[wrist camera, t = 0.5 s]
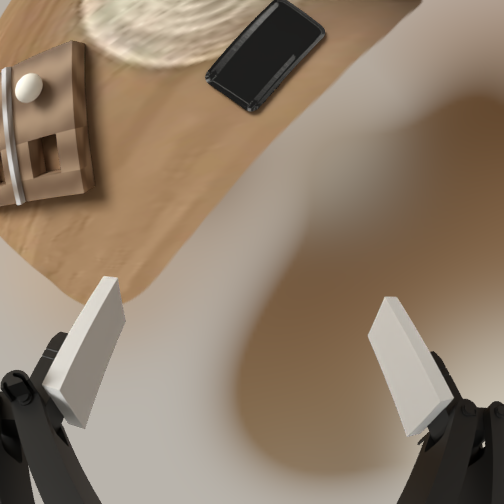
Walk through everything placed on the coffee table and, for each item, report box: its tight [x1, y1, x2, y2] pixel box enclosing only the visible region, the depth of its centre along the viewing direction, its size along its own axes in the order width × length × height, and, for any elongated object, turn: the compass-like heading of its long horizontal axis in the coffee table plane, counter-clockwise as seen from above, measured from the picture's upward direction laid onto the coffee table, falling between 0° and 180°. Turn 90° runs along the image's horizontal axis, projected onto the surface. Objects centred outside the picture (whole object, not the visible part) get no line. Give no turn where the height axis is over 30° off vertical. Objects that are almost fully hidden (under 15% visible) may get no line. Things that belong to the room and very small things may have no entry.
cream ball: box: [15, 73, 43, 103], centre depth 24 cm, size 4×4×4 cm
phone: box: [205, 0, 325, 111], centre depth 30 cm, size 8×1×15 cm
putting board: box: [0, 41, 95, 206], centre depth 30 cm, size 21×24×5 cm
